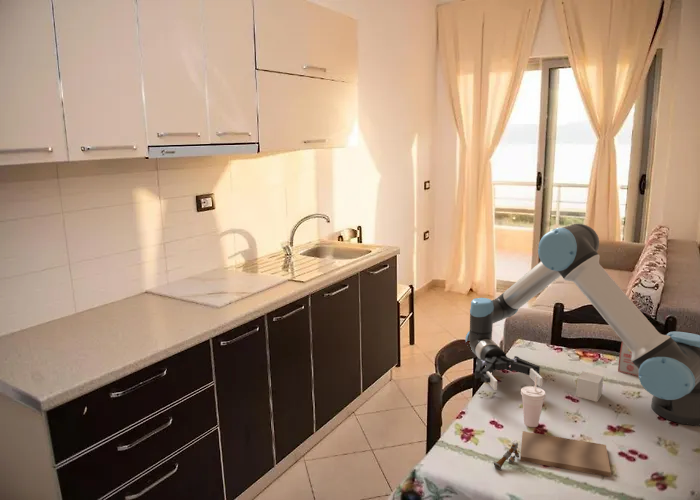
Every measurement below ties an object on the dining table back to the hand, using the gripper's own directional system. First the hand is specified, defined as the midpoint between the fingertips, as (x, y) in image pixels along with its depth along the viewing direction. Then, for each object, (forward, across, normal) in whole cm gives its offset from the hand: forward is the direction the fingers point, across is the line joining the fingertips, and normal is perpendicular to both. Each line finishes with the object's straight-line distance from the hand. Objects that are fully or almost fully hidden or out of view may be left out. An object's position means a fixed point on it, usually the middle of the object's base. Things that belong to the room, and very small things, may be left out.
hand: (518, 383), depth 156 cm
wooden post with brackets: (+25, +14, -8) cm, 30 cm away
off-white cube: (-5, -25, -8) cm, 26 cm away
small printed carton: (-18, -47, -8) cm, 51 cm away
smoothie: (+9, 0, -8) cm, 12 cm away
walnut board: (+24, -1, -8) cm, 25 cm away
